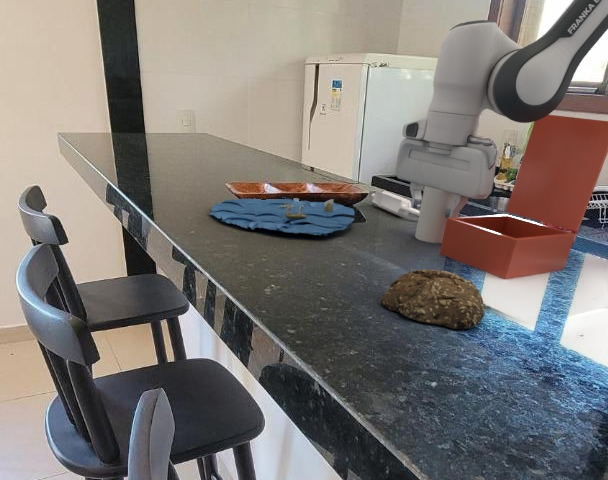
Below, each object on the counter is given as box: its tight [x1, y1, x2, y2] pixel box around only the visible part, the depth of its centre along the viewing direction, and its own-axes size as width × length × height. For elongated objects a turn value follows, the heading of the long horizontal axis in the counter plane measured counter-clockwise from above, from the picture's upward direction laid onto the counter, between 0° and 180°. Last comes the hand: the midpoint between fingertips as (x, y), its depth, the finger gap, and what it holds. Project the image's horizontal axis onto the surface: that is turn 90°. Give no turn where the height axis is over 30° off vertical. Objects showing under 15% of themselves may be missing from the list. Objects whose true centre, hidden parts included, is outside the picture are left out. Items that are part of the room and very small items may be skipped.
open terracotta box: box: [439, 214, 576, 280], centre depth 88 cm, size 16×14×7 cm
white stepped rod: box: [371, 190, 420, 218], centre depth 122 cm, size 20×8×4 cm, turn 23°
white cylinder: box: [414, 186, 456, 244], centre depth 97 cm, size 6×6×10 cm
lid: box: [505, 114, 608, 232], centre depth 87 cm, size 16×14×1 cm
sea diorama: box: [208, 197, 355, 236], centre depth 103 cm, size 30×30×5 cm
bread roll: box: [380, 268, 486, 330], centre depth 67 cm, size 13×12×5 cm
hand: (433, 214), depth 96 cm, fingers open, 7 cm apart
